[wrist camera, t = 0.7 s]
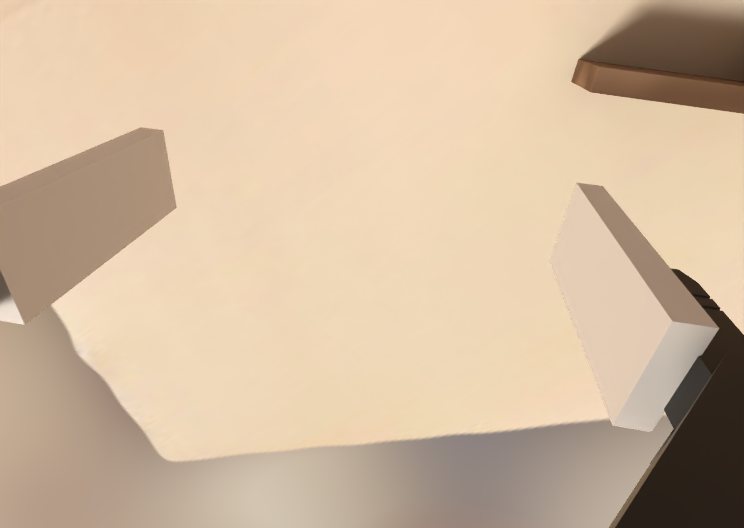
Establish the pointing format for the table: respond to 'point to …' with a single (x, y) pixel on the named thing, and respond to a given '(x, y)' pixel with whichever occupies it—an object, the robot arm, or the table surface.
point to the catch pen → (660, 86)
